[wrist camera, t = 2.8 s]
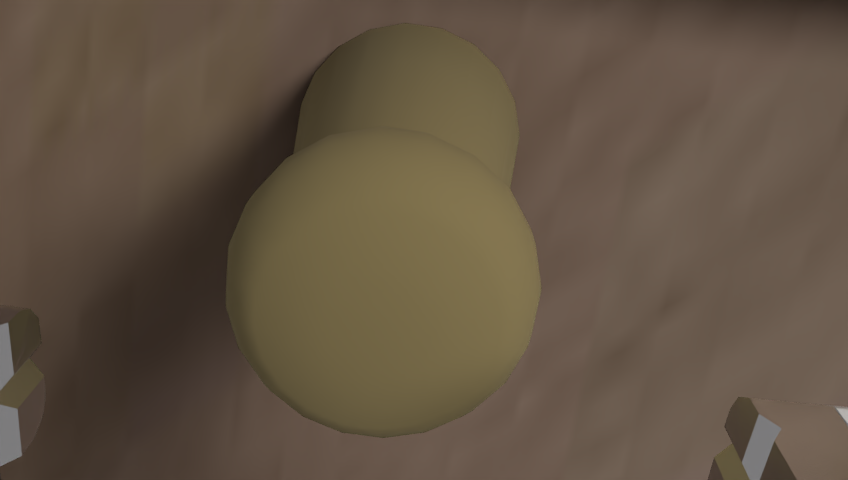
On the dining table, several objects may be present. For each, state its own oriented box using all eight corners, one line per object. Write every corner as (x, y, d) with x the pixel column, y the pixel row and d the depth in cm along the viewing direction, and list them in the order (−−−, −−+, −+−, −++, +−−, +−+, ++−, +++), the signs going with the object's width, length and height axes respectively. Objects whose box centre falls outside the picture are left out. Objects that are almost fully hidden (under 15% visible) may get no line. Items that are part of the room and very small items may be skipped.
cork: (263, 67, 22) (98, 213, 11) (480, -10, 21) (513, 74, 10) (345, 264, 24) (268, 536, 13) (545, 202, 23) (625, 442, 13)
